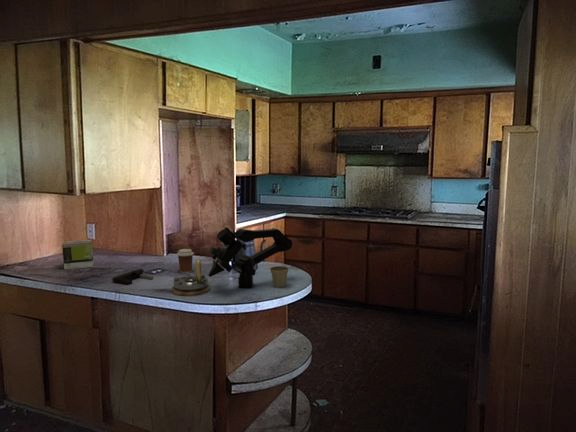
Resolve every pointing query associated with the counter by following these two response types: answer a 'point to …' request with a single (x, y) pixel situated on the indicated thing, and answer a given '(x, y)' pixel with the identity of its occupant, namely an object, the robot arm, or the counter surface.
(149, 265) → the counter surface
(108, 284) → the counter surface
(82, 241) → the tea box
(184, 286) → the ring nut
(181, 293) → the base
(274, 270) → the flower pot
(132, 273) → the door handle
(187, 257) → the coffee cup
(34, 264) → the counter surface
